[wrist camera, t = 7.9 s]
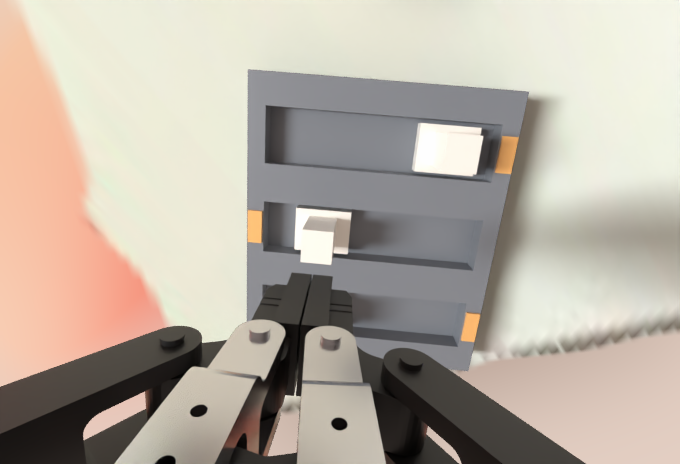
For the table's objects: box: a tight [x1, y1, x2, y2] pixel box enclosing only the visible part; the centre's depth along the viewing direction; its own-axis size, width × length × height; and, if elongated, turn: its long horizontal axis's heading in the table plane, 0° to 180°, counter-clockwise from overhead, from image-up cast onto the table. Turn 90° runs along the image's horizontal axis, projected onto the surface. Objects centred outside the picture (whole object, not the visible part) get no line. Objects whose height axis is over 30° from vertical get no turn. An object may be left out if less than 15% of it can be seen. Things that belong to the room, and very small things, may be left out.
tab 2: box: [412, 123, 483, 176], centre depth 23 cm, size 4×3×5 cm
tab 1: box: [294, 205, 352, 265], centre depth 25 cm, size 4×3×5 cm
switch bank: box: [247, 69, 529, 371], centre depth 27 cm, size 18×21×3 cm
